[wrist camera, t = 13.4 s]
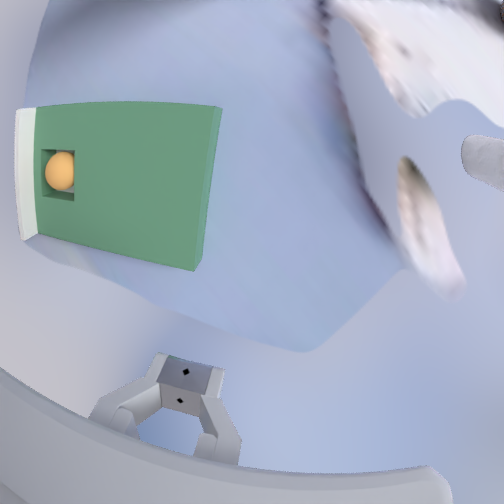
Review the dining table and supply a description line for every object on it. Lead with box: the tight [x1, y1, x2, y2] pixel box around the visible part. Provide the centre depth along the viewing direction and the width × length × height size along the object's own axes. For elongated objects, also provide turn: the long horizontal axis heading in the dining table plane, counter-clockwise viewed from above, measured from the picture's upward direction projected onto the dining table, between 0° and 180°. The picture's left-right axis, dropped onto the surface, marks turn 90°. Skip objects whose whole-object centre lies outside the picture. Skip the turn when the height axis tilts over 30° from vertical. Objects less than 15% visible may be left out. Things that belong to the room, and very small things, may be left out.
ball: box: [45, 152, 75, 190], centre depth 30 cm, size 5×5×5 cm
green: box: [14, 101, 222, 272], centre depth 29 cm, size 18×26×6 cm
